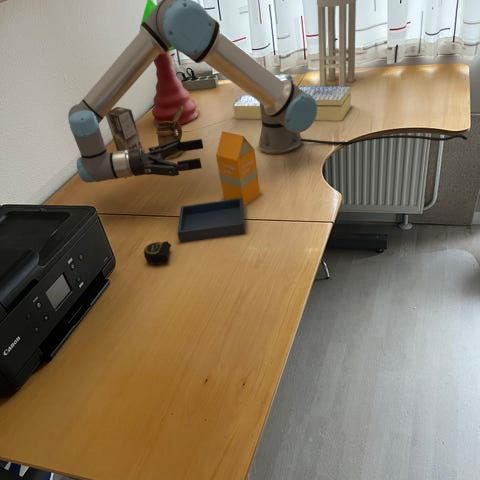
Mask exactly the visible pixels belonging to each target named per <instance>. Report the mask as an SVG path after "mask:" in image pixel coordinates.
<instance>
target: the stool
mask: <svg viewBox="0 0 480 480" xmlns="http://www.w3.org/2000/svg"><path fill="white" fill-rule="evenodd" d="M316 5H317V31H318V32H317V33H318V37H317V38H318V67H319V68H318V69H319V70H318V71H319V86H326V87H327V86H328V85H327V82H328V81H330V82H334V81H335V80H336V69H338V87H340V86H343V87H345V86H347V82H349V83H351V82H352V83H353V82H354V81H355V80H356V79H355V78H356V77H355V75H356V74H355V72H356V22H357V21H356V19H357V18H356V17H357V15H356V13H357V0H316ZM347 5H348V6H347ZM336 7H338V49H336ZM326 8H327V22H326ZM347 11H348V12H347ZM326 23H327V28H326ZM326 29H327V31H326ZM326 38H327V39H326ZM327 51H328V52H327ZM336 54H338V55H336ZM327 61H328V63H327ZM336 62H338V63H336ZM327 69H328V73H327ZM327 74H328V81H327Z"/></svg>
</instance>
